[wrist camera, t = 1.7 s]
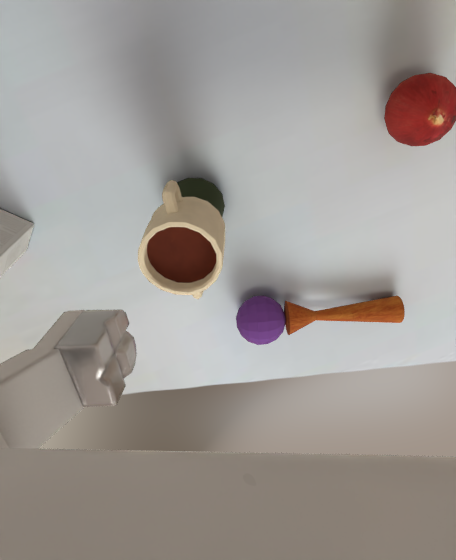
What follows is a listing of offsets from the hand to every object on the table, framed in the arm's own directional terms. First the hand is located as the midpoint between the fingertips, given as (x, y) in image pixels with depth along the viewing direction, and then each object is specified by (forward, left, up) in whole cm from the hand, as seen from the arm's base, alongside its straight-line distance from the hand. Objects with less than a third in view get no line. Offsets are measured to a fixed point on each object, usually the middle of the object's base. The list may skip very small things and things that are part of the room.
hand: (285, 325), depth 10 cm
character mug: (+2, -11, -33) cm, 35 cm away
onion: (+11, +10, -33) cm, 36 cm away
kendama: (+22, -12, -33) cm, 41 cm away
